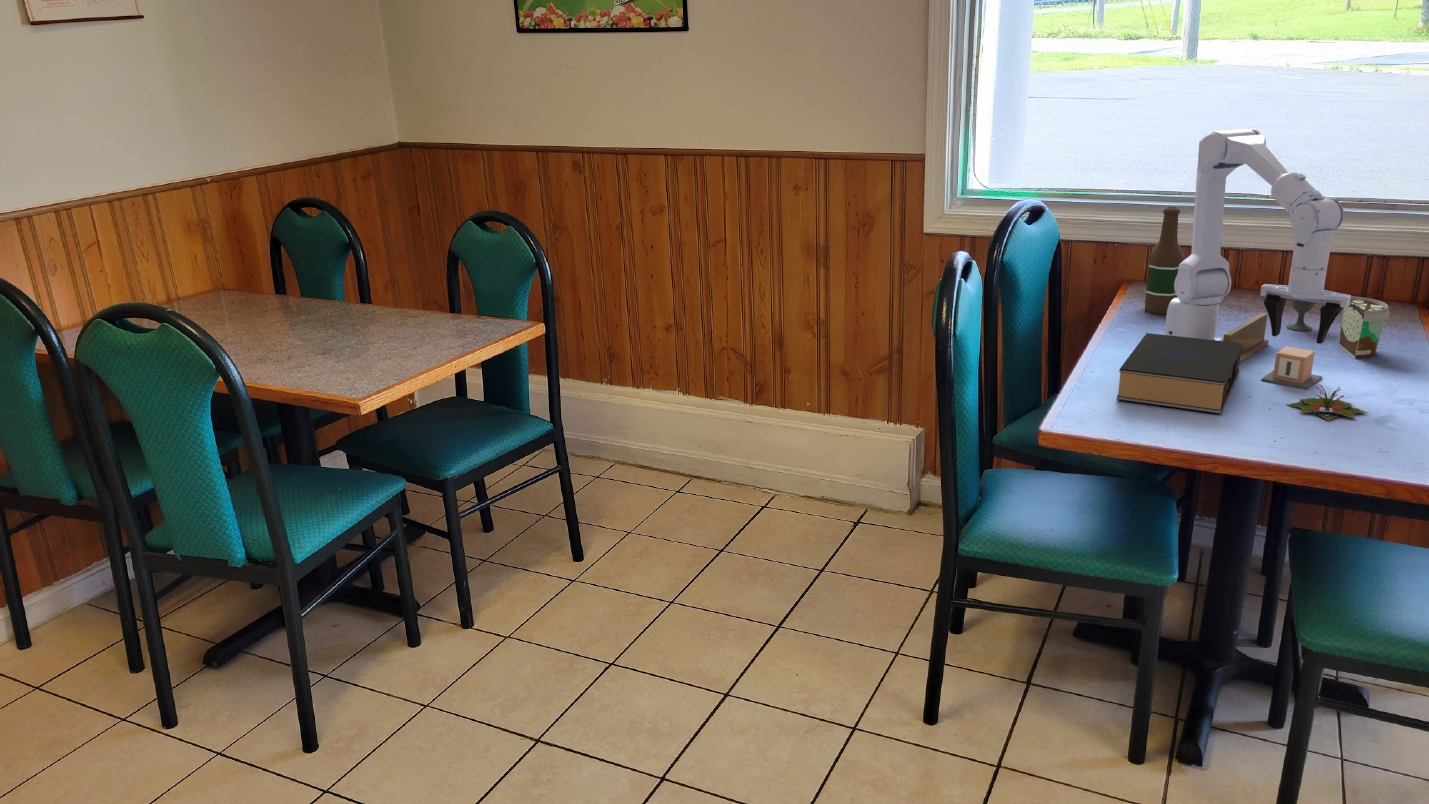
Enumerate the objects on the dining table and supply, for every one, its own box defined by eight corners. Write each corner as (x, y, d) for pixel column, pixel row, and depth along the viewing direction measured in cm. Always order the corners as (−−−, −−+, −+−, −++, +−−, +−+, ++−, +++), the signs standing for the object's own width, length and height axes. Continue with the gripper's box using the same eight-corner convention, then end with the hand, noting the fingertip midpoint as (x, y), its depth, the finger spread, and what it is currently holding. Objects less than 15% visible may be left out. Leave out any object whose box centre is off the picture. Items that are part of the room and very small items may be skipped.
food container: (1392, 361, 204) (1401, 311, 200) (1357, 360, 205) (1366, 311, 201) (1368, 343, 215) (1377, 295, 212) (1335, 342, 216) (1343, 295, 213)
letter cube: (1282, 371, 199) (1286, 346, 198) (1310, 376, 196) (1314, 351, 194) (1272, 378, 196) (1275, 353, 194) (1300, 384, 193) (1304, 358, 191)
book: (1238, 376, 201) (1243, 343, 198) (1220, 418, 181) (1225, 381, 178) (1143, 364, 209) (1146, 332, 207) (1116, 403, 189) (1119, 368, 187)
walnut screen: (1215, 365, 206) (1219, 333, 204) (1252, 341, 219) (1256, 311, 217) (1230, 368, 204) (1235, 336, 202) (1267, 344, 217) (1272, 314, 215)
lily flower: (1327, 428, 174) (1331, 403, 173) (1271, 406, 185) (1274, 381, 184) (1383, 418, 178) (1388, 392, 176) (1324, 396, 188) (1328, 372, 187)
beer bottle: (1184, 314, 240) (1196, 209, 232) (1150, 315, 241) (1161, 211, 233) (1171, 305, 248) (1182, 204, 240) (1138, 306, 248) (1148, 205, 240)
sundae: (1309, 334, 222) (1321, 264, 217) (1277, 328, 227) (1287, 260, 222) (1322, 327, 226) (1333, 259, 221) (1289, 322, 231) (1299, 255, 226)
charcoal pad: (1261, 380, 196) (1261, 378, 196) (1276, 370, 202) (1276, 368, 202) (1307, 389, 191) (1307, 387, 191) (1321, 378, 196) (1322, 376, 196)
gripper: (1258, 265, 191) (1248, 336, 196) (1346, 276, 181) (1333, 350, 186) (1272, 258, 196) (1262, 328, 201) (1359, 268, 186) (1346, 341, 191)
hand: (1297, 338), depth 194 cm, fingers open, 7 cm apart
